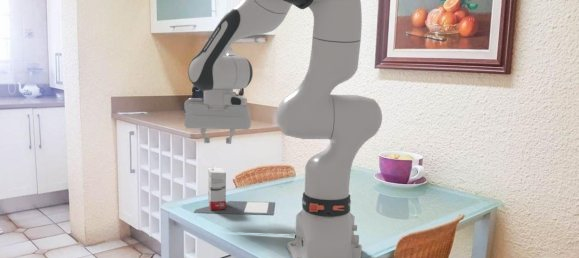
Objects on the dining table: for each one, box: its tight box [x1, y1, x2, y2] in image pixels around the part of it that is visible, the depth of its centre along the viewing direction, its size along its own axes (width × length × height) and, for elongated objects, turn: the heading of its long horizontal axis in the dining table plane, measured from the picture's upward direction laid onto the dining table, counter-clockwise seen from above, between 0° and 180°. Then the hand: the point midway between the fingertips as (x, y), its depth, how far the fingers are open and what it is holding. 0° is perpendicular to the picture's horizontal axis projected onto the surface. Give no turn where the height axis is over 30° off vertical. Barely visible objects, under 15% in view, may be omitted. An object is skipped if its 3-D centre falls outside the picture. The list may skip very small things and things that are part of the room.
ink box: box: [207, 166, 227, 210], centre depth 145 cm, size 9×5×12 cm, turn 15°
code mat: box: [193, 200, 276, 216], centre depth 145 cm, size 13×24×1 cm, turn 89°
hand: (217, 143), depth 143 cm, fingers open, 5 cm apart
